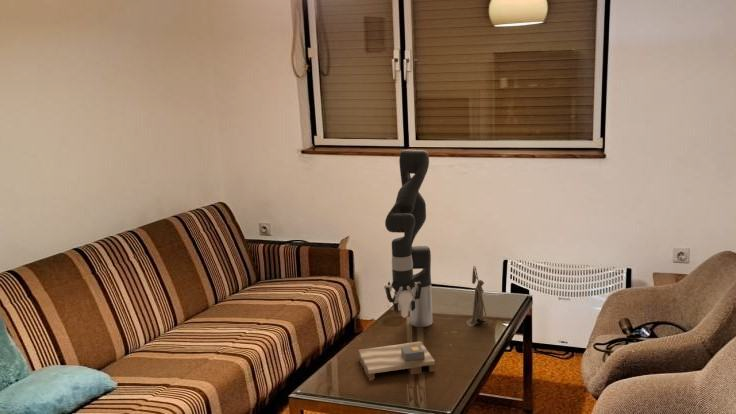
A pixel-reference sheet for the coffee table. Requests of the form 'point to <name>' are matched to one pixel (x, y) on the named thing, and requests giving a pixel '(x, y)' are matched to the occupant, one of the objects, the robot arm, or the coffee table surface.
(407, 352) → the grey box
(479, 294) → the wizard figurine
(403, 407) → the coffee table surface
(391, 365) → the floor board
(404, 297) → the lightbulb
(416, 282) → the robot arm
